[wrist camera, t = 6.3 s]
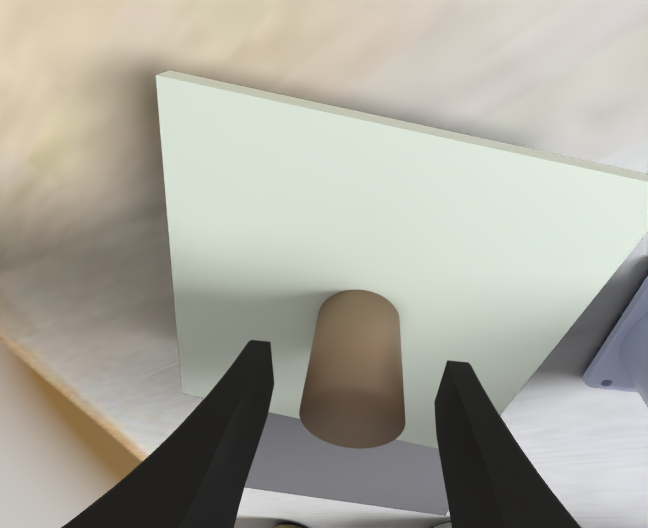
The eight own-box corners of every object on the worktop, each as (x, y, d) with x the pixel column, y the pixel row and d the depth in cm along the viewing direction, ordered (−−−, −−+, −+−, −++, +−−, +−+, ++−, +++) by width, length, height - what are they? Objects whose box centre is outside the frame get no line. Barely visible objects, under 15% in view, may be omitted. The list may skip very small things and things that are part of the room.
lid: (662, 177, 10) (828, 283, 7) (465, 439, 19) (487, 555, 15) (169, 70, 10) (44, 114, 7) (188, 379, 19) (138, 480, 15)
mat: (506, 376, 21) (508, 382, 21) (444, 510, 31) (445, 515, 30) (210, 344, 22) (207, 349, 22) (241, 481, 32) (240, 486, 32)
